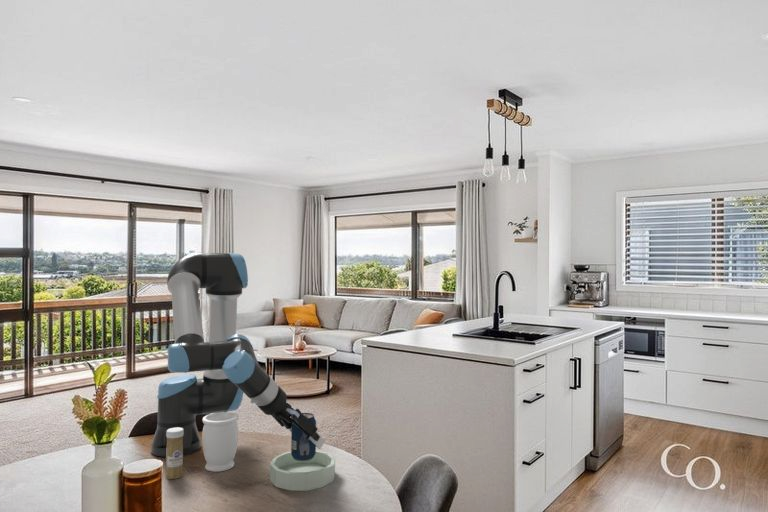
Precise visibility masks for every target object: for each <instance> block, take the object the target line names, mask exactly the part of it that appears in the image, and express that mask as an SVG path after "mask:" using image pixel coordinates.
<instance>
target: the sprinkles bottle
mask: <svg viewBox="0 0 768 512" xmlns="http://www.w3.org/2000/svg"><path fill="white" fill-rule="evenodd" d="M183 435H184V430H183V428H180V427H175V428H170V429H168V430H167V432H166V437H167V448H166V457H165V465H166V466H165V467H166V468H165V469H166V470H165V471H166V472H165V478H166V479H168V480H176V479H179V478H181V477H182V476H183V463H184V462H183V460H184V459H183V458H184V455H183Z"/></svg>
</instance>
